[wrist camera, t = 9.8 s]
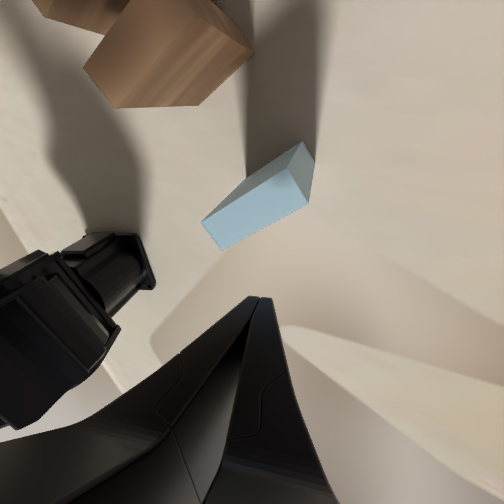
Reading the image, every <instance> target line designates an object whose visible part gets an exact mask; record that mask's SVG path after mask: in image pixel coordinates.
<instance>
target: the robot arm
mask: <svg viewBox="0 0 504 504" xmlns="http://www.w3.org/2000/svg"><path fill="white" fill-rule="evenodd" d="M133 239H134V240H133ZM155 286H156V285H155V282H154V279H153V276H152V273H151V271H150V268H149V265H148V262H147V259H146V257H145V254H144V251H143V248H142V245H141V242H140V240H139V237H138V236H137V235H136V234H116V233H115V232H93V233H91V234H87V235H85V236H83V237H82V239H81V240H79V241H77V242H76V243H74V244H72V245H70V246H68V247H67V248H65V249H63V250H62V251H61V252H60V253H59V251H56V252H54V253H52V254H50V255H49V254H48V253H45V252H42V251H40V250H37V251H35V252H33V253H31V254H29V255H27V256H25V257H23V258H21V259H19V260H17V261H15V262H13V263H12V264H10V265H8V266H6V267H4V268H2V269H0V429H1V428H3V427H6V426H9V425H10V426H11V427H12V428H13V429H15V430H19V429H22V428H24V427H26V426H28V425H30V424H32V423H34V422H36V421H37V420H39V419H40V418H41V417H42V416H43V415H44V414H45V413H46V412H47V411H48V410H49V409H50V408H51V407H52V406H53V405H54V404H55V402H56V401H57V400H58V399H60V398H61V397H62V395H64V394H65V393H66V392H67V391H68V390H70V389H73V388H74V387H76V386H78V385H79V384H81V383H82V382H83V381H85V380H86V379H87V378H88V377H89V376H90V375H92V374H93V373H94V372H95V370H96V369H97V368H98V367H99V366H100V364H101V363H102V361H103V360H104V358H105V356H106V355H107V353H108V351H109V350H110V348H111V346H112V345H113V343H114V341H115V339H116V338H117V336H118V334H119V333H120V331H121V328H120V326H119V325H116V323H115V322H114V321H113V320H112V317H113V316H114V315H115V314H116V313H117V312H118V311H119V310H120V309H121V308H122V307H123V306H124V305H125V304H126V303H127V302H128V301H129V300H130V299H131V298H132V297H133V296H134V295H135V294H136V293H137V292H138V291H139V290H153V289H154V288H155ZM0 504H340V503H339V501H338V499H337V498H336V496H335V494H334V492H333V490H332V488H331V486H330V484H329V482H328V480H327V477H326V475H325V473H324V470H323V468H322V466H321V463H320V460H319V458H318V455H317V453H316V450H315V447H314V445H313V442H312V440H311V438H310V435H309V432H308V429H307V427H306V425H305V422H304V419H303V417H302V414H301V411H300V408H299V405H298V402H297V399H296V396H295V392H294V389H293V385H292V381H291V377H290V373H289V369H288V365H287V360H286V356H285V351H284V347H283V343H282V338H281V334H280V330H279V325H278V321H277V317H276V312H275V309H274V304H273V300H272V298H267V297H261V298H260V297H257V296H248V297H247V298H245V299H244V300H243V301H242V302H241V303H239V304H238V305H237V306H236V307H234V308H233V309H232V310H231V311H230V312H229V313H227V314H226V315H225V316H224V317H222V318H221V319H220V320H219V321H217V322H216V323H215V324H214V325H213V326H211V327H210V328H209V329H208V330H206V331H205V332H204V333H203V334H202V335H200V336H199V337H198V338H197V339H195V340H194V341H193V342H192V343H191V344H189V345H188V346H187V347H186V348H184V349H183V350H182V351H181V352H180V354H177V355H176V356H175V357H173V358H172V359H171V360H170V361H168V362H167V363H166V364H165V365H163V366H162V367H161V368H160V369H158V370H157V371H156V372H154V373H153V374H151V375H150V376H149V377H147V378H146V379H145V380H143V381H142V382H140V383H139V384H137V385H136V386H135V387H133V388H132V389H130V390H129V391H127V392H126V393H124V394H123V395H121V396H120V397H119V398H117V399H116V400H114V401H113V402H111V403H110V404H108V405H107V406H105V407H104V408H102V409H101V410H99V411H98V412H96V413H95V414H93V415H92V416H90V417H88V418H86V419H84V420H82V421H80V422H78V423H75V424H73V425H70V426H66V427H63V428H59V429H55V430H50V431H46V432H42V433H38V434H34V435H30V436H26V437H22V438H17V439H13V440H9V441H5V442H1V443H0Z"/></svg>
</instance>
